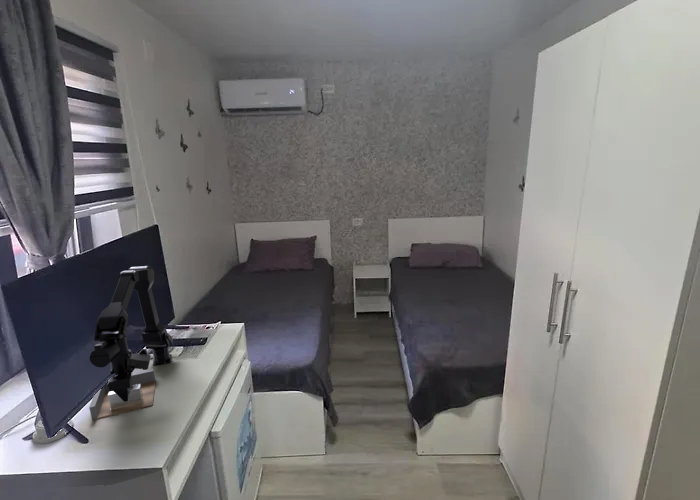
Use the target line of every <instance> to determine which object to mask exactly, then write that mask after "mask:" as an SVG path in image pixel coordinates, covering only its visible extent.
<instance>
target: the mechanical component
mask: <svg viewBox="0 0 700 500" xmlns="http://www.w3.org/2000/svg"><path fill="white" fill-rule="evenodd" d="M68 424H69V425H70V426H72V427H73V428H74V426H75V424H74V421H73V420H72V419H71V420H70V421H69V423H68ZM34 427H35V431H34V432H33V434H32V440H33V442H34V443H36V444H49V443H51V442H54V441H57V440H59V439H61V438H63V437H65V436H66V435H65V432H64V431H63V430H61V431H59V432H58V433H57V435H56V436H54V437H53V438H50V439H48V438H47V437H46V434H45V429H44V426H43V424H42V421H41V419H40V420H39V421H37V423H36V424H35V426H34ZM64 435H65V436H64Z"/></svg>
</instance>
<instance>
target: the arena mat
mask: <svg viewBox="0 0 700 500" xmlns="http://www.w3.org/2000/svg"><path fill="white" fill-rule="evenodd" d="M156 381H157V380H156ZM156 381H154V382H149V383H145V384H141V389H142V394H143V401H142V402H140V403H136V404H132V405H127V406H123V407H119V408H114V409H111V406H110V402H109V397H108V394H109V392H106V394H105V397H104V400H103V403H102V406H101V409H100V412H99V415H98V418H95V419H92V418H91V421H95V420H98V419H99V420H100V419H104V418H108V417H111V416H115V415H121V414H125V413H128V412H131V411H137V410H140V409H145V408H149V406H150V407H152V406H153V405H154V397H155V390H156V389H155V388H156V384H157V383H156Z"/></svg>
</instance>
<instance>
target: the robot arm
mask: <svg viewBox="0 0 700 500" xmlns="http://www.w3.org/2000/svg"><path fill="white" fill-rule="evenodd" d="M118 278H119V280H118V283H117V285H116V288H115V290H114V292H113V296H112V298H111V301H110V303H109V305H108V306H107V307H105V308H104V309H103V310H102V311H101V313H100V315H99V316H98V319H97V321H96V325H95V333H94V338H93V341H94V342H98V343H96V344H95V345H94V346H93V348H94V350H92V351H91V353H90V355H89V361H90V363H91V364H92V365H93V366H94V367H96V368H104V367H107V366H108V365H109V364H110V371H109V373H110V375H114V374H115V375H114V376H111V377H110V379H109V378H108V379H109V380H108V383H107V390H108V391H109V392H111V391H114V392H115V393H116V394H117V395H118V396H119V397H120V398H121V399H122V400H123V401H124V402H126V401H128V387H130V386H131V384H132V379H131V375H132V374H133V372H134V370H138V369H139V370H142V371H147V370H149V366H150V362H151V357H153V359H152V366H153V367H154V366H159V365H162V364H163V365H164V364H168V363H169V364H170V363H171V362H172V353H170V350H169V349H170V347H172V346H173V344H174V343H173V342H174V339H173V338H174V337H173V336H172V335H170V334H169V333H168V331H167V328H166V326H165V325H163V323H162V322H160V319H159V314H158V310H157V305H156V302H155V297H154V293H153V290H152V286H153V284H154V282H155V270H154V269H153V267H152V266H150V265H144V266H143V265H141V266H131V267H130V268H128V270H123V271H121V272H120V273H119V275H118ZM133 291H136V292H137V293H136V294H137V296H138V301H139V304H140V305H139V306H140V309H141V312H142V316H143V321H144V324H145V328H144V331H143V332H142V334H141V338H142V342H143V344H144V346H145V348H141V349H140V350H139V351H138V352H136V353H132V349H129V345H128V341H127V334H126V333H128V332H129V329H127V328H128V323H129V321H128V320H129V315H128V313H127V309H128V305H129V303H130V300H131V296H132V294H133ZM103 333H104V334H103ZM148 350H152V351H151V352H152V356H151V354H150V353H148Z"/></svg>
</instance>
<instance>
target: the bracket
mask: <svg viewBox="0 0 700 500" xmlns="http://www.w3.org/2000/svg"><path fill="white" fill-rule="evenodd" d="M108 397H109V402H110V406H111V409H114V408H119V407H123V406H127V405H132V404H136V403H140V402H142V401H143V394H142V389H141V384H137V385H132V386H130V387H128V401H126V402H124V401H123V400H122V399H121V398H120V397H119V396H118V395H117V394H116V393H115V392H114V391H111V392H109V394H108Z"/></svg>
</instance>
